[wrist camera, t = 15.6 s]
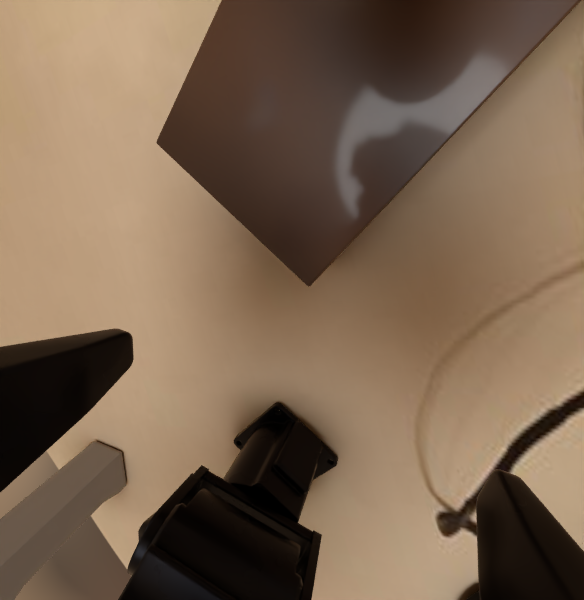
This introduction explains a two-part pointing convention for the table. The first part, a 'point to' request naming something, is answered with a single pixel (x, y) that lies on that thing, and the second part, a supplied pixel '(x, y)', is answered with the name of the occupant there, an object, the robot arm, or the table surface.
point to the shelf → (337, 106)
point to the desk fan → (474, 596)
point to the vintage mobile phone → (55, 513)
